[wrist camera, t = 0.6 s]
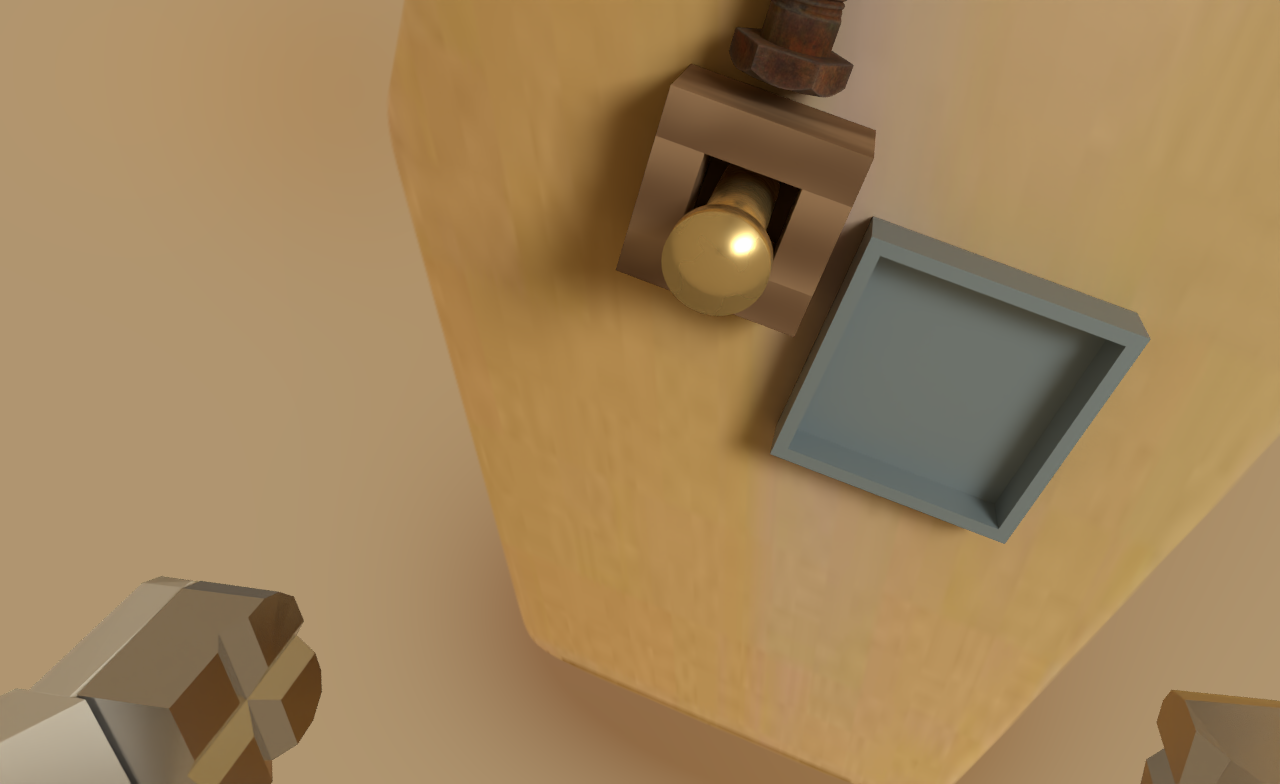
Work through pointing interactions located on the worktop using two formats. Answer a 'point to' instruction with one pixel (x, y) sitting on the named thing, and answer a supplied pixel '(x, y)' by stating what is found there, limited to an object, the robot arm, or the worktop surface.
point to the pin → (723, 246)
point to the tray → (953, 380)
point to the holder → (769, 145)
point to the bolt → (795, 48)
